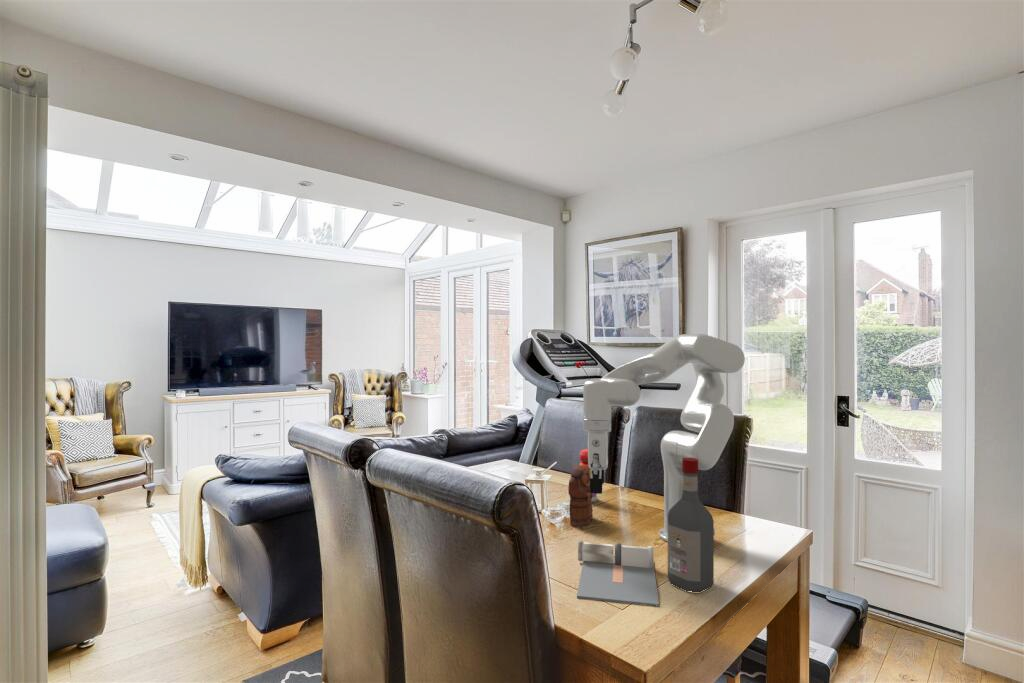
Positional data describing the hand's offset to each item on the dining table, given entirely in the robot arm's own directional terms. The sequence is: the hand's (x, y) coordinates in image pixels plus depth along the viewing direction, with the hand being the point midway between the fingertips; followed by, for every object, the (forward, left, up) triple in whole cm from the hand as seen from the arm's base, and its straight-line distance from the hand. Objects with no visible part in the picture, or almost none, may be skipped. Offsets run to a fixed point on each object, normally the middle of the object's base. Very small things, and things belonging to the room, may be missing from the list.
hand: (597, 488), depth 142 cm
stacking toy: (+6, -49, -18) cm, 53 cm away
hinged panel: (0, +6, -17) cm, 18 cm away
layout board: (-6, +13, -18) cm, 23 cm away
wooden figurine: (+6, -26, -19) cm, 32 cm away
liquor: (-23, +12, -18) cm, 32 cm away
